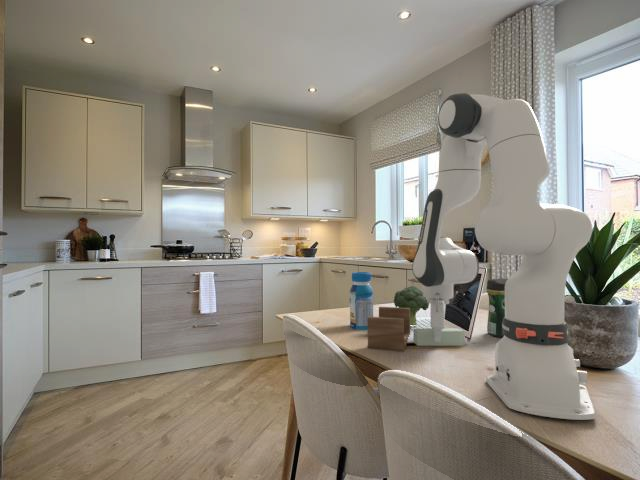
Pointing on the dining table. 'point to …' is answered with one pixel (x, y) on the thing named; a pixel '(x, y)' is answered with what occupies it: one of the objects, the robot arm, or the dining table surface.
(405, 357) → the dining table surface
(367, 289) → the beverage bottle
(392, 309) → the wooden napkin holder
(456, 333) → the pale green rectangular bar
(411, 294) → the vegetable
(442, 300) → the robot arm
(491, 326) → the coffee jar
